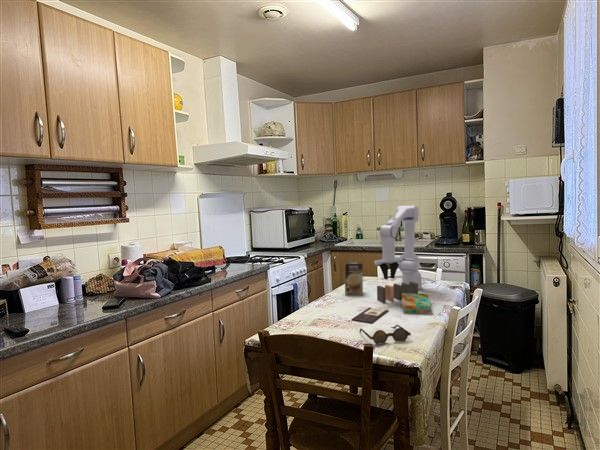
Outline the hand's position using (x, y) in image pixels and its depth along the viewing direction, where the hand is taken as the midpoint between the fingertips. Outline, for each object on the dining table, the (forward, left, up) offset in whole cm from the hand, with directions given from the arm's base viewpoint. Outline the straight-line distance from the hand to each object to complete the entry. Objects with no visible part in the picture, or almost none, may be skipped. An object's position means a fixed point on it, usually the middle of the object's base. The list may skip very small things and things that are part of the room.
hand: (389, 278), depth 186 cm
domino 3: (-4, 0, -10) cm, 11 cm away
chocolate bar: (+20, +17, -11) cm, 28 cm away
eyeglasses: (+27, +39, -11) cm, 48 cm away
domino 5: (-13, 0, -10) cm, 17 cm away
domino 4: (-9, 0, -10) cm, 14 cm away
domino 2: (0, 0, -10) cm, 10 cm away
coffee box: (+10, -19, -11) cm, 24 cm away
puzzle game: (-4, +15, -11) cm, 19 cm away
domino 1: (+5, 0, -10) cm, 11 cm away
